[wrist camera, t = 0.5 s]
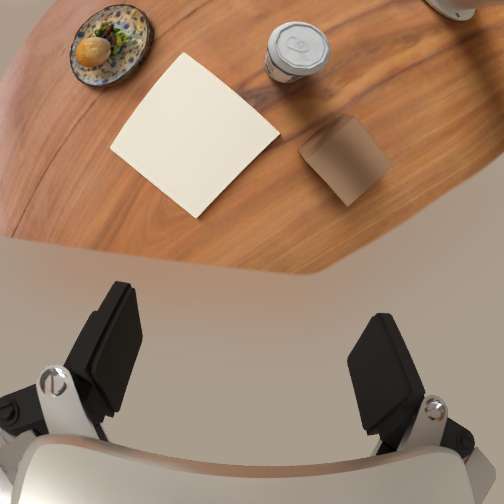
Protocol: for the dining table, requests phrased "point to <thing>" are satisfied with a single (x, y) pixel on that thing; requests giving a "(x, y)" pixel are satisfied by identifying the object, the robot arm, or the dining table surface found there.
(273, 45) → the beer can
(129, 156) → the stone tile
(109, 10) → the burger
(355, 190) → the walnut block
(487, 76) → the dining table surface
